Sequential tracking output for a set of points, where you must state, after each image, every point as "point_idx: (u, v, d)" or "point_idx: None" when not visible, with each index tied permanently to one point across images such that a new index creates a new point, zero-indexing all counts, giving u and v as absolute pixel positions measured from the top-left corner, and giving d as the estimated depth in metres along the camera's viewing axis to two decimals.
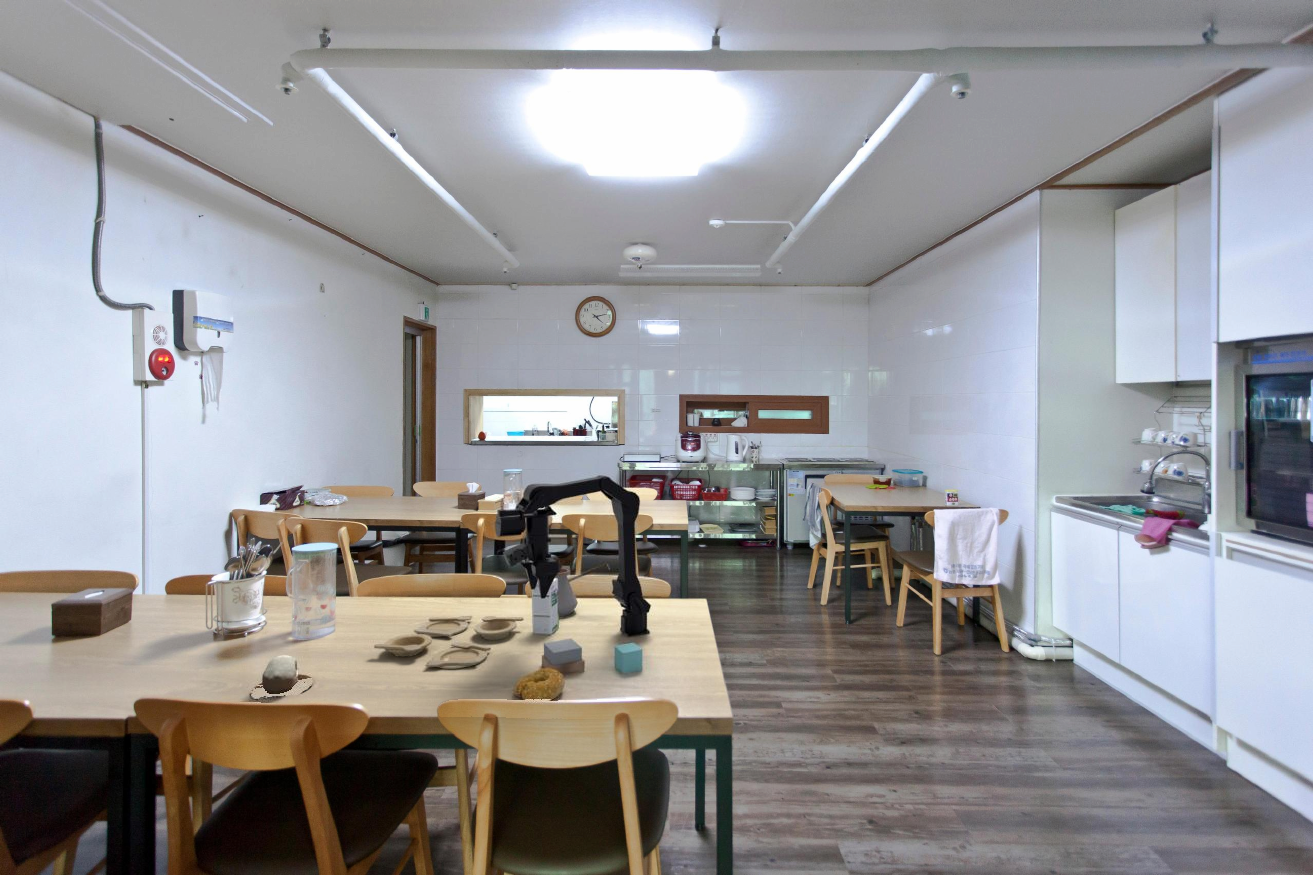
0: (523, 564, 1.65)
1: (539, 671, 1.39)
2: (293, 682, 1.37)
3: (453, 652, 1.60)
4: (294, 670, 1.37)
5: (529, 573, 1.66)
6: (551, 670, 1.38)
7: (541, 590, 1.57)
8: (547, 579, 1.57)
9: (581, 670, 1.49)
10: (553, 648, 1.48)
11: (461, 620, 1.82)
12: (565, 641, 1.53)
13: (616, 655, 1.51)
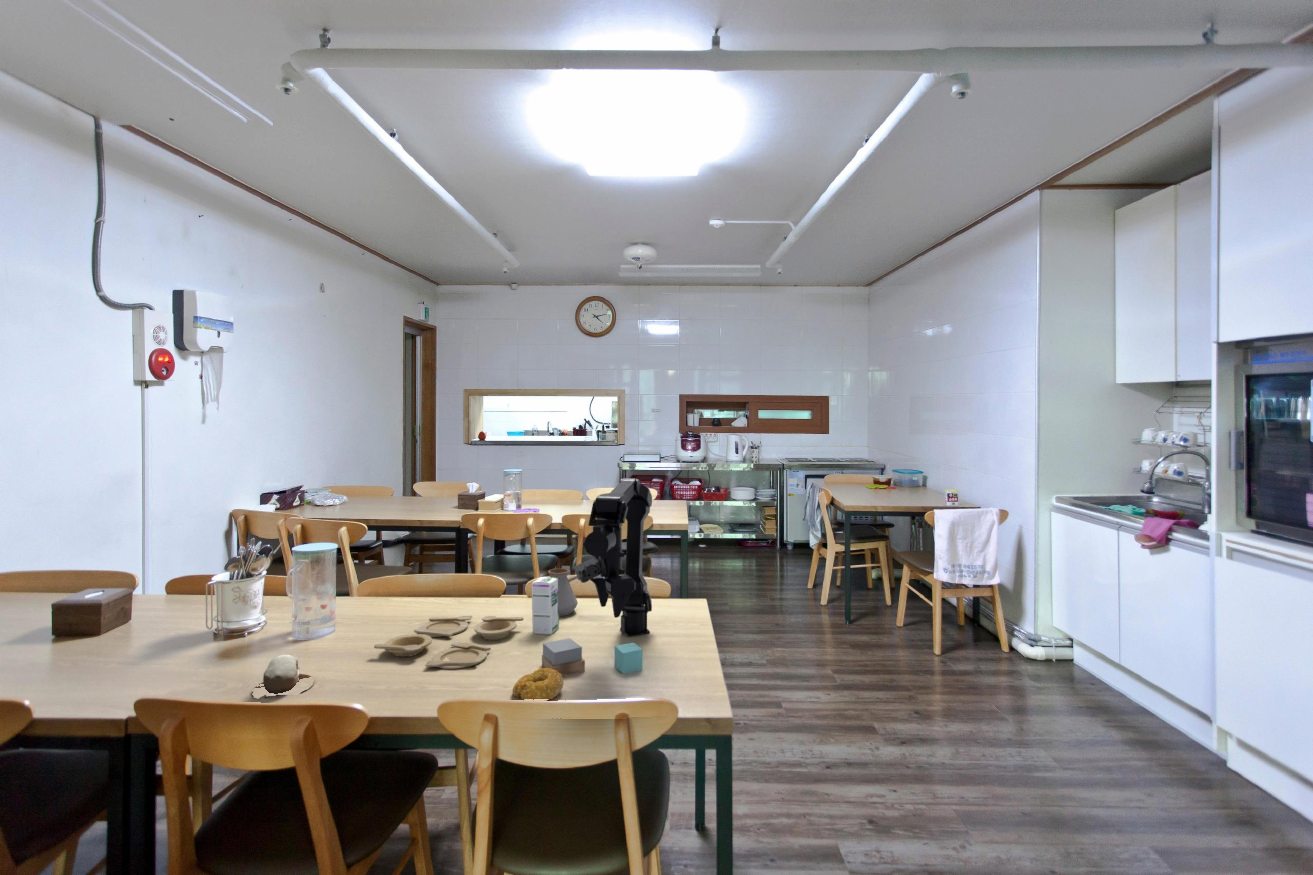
0: (593, 580, 1.56)
1: (538, 671, 1.39)
2: (294, 681, 1.37)
3: (453, 652, 1.60)
4: (295, 669, 1.38)
5: (599, 589, 1.56)
6: (550, 670, 1.39)
7: (615, 608, 1.47)
8: (621, 597, 1.47)
9: (581, 670, 1.49)
10: (553, 648, 1.48)
11: (461, 620, 1.82)
12: (564, 641, 1.53)
13: (616, 655, 1.51)
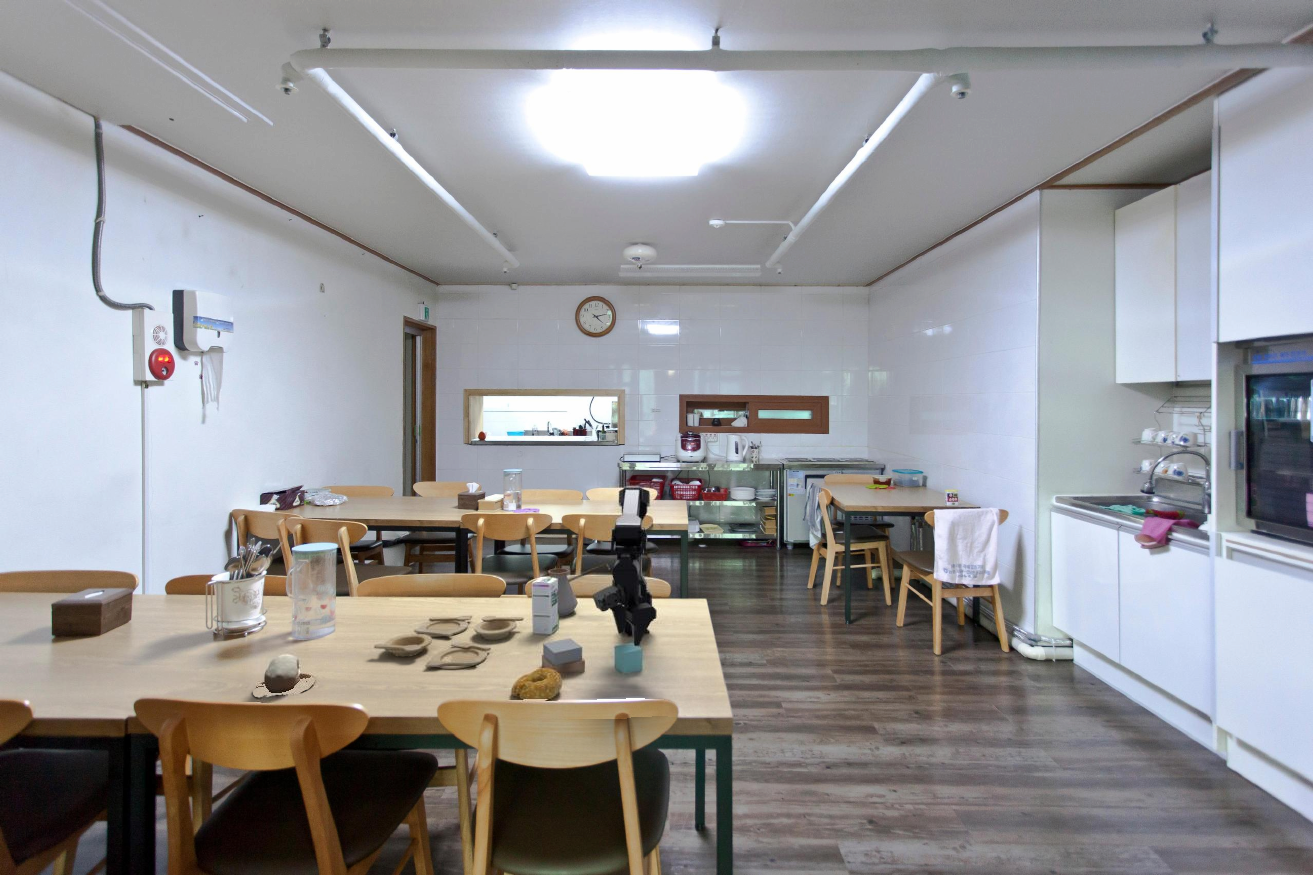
0: None
1: (537, 671, 1.39)
2: (295, 681, 1.38)
3: (453, 652, 1.60)
4: (296, 669, 1.38)
5: (617, 616, 1.54)
6: (549, 670, 1.39)
7: (635, 637, 1.45)
8: (641, 625, 1.46)
9: (581, 670, 1.49)
10: (553, 648, 1.48)
11: (461, 620, 1.82)
12: (564, 641, 1.53)
13: (616, 655, 1.51)
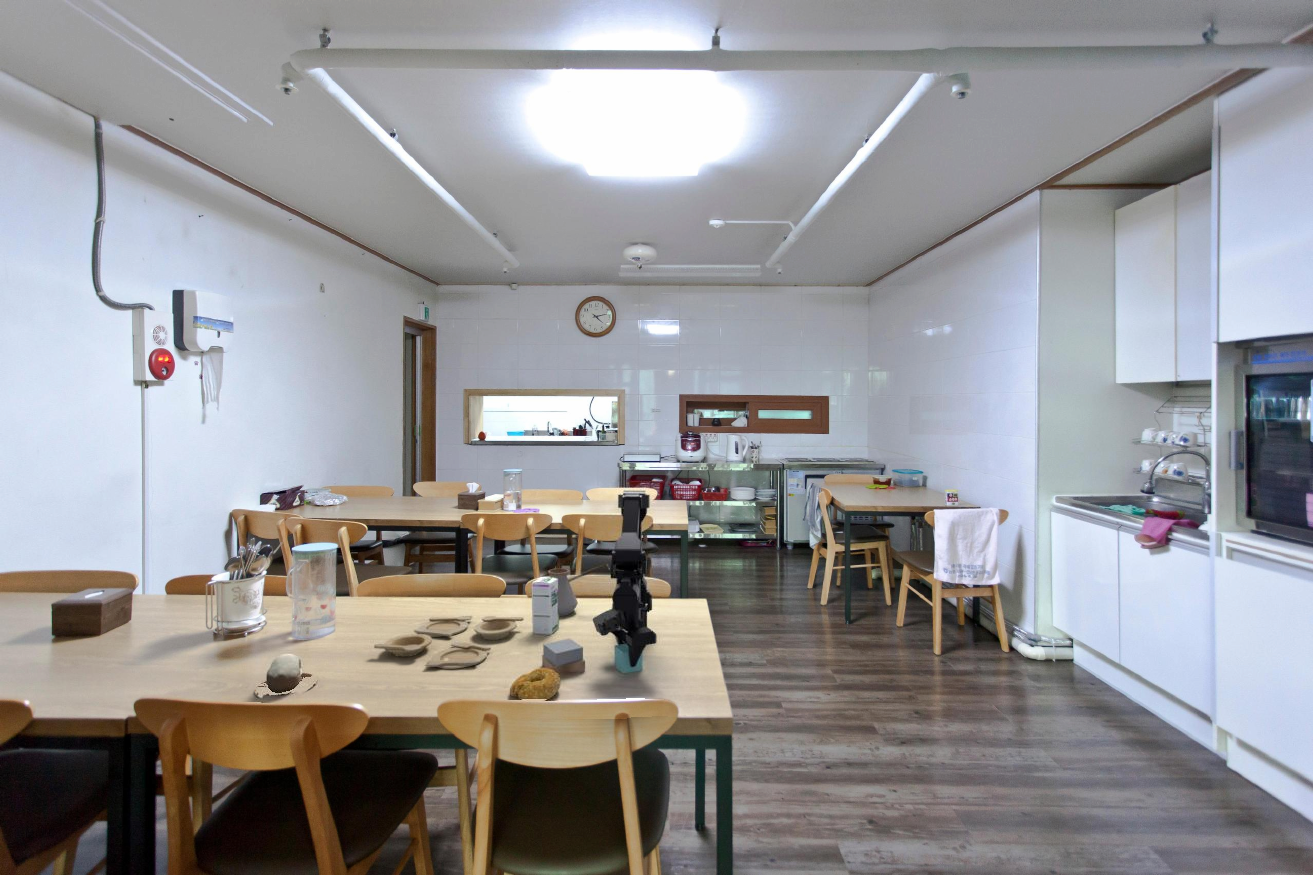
0: (613, 632, 1.52)
1: (535, 671, 1.39)
2: (297, 680, 1.38)
3: (453, 652, 1.60)
4: (298, 668, 1.38)
5: (620, 641, 1.53)
6: (547, 670, 1.39)
7: (632, 658, 1.47)
8: (638, 647, 1.47)
9: (581, 670, 1.49)
10: (554, 649, 1.48)
11: (461, 620, 1.82)
12: (564, 641, 1.53)
13: (616, 654, 1.51)
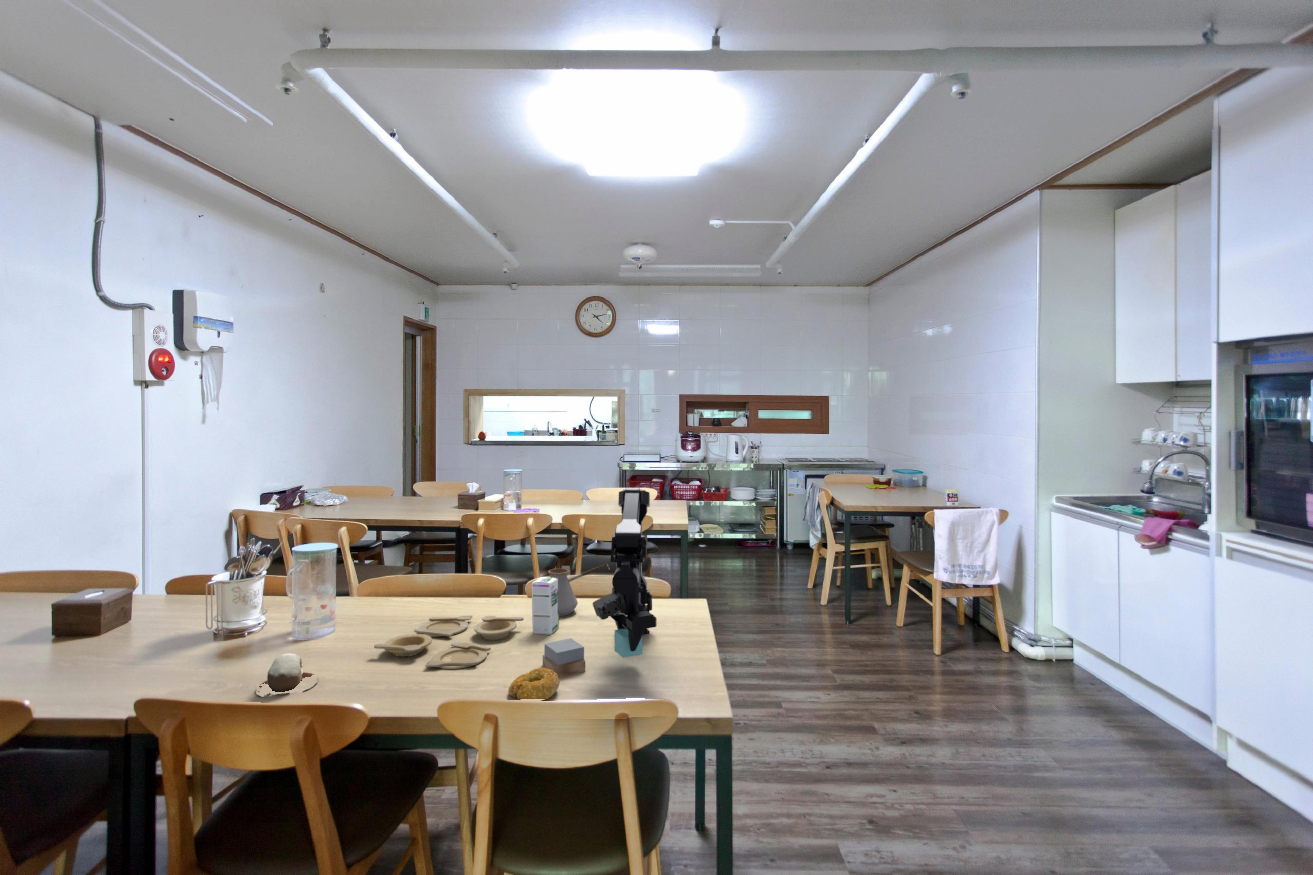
0: (613, 616, 1.52)
1: (534, 671, 1.39)
2: (298, 680, 1.38)
3: (453, 652, 1.60)
4: (299, 668, 1.39)
5: (620, 626, 1.52)
6: (546, 670, 1.39)
7: (631, 642, 1.47)
8: (638, 631, 1.47)
9: (582, 670, 1.49)
10: (556, 648, 1.48)
11: (461, 620, 1.82)
12: (565, 641, 1.53)
13: (616, 639, 1.50)
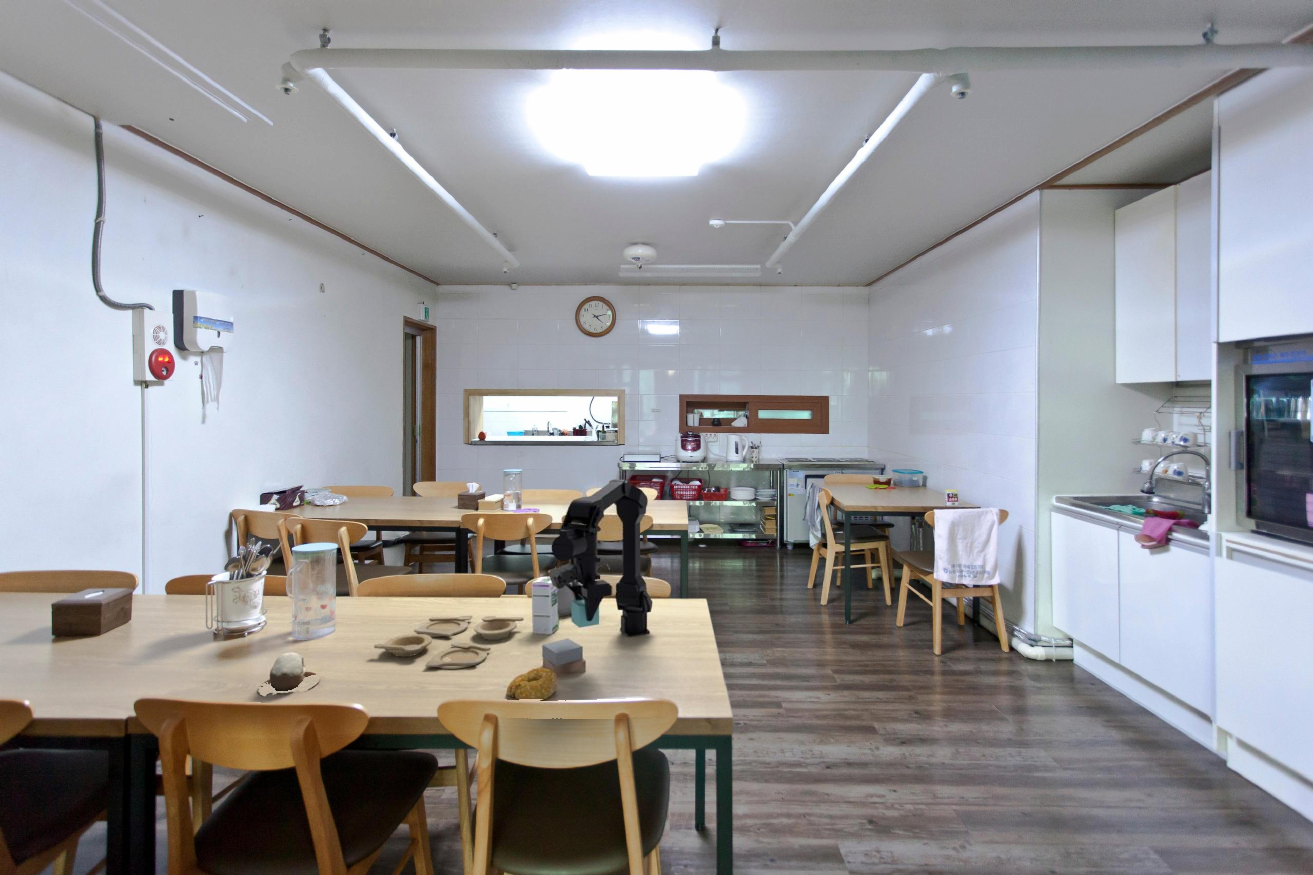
0: (571, 587, 1.52)
1: (532, 671, 1.39)
2: (300, 679, 1.39)
3: (453, 652, 1.60)
4: (301, 667, 1.39)
5: (577, 597, 1.52)
6: (544, 670, 1.39)
7: (588, 612, 1.47)
8: (594, 600, 1.47)
9: (582, 670, 1.49)
10: (554, 649, 1.48)
11: (461, 620, 1.82)
12: (563, 641, 1.53)
13: (573, 609, 1.50)
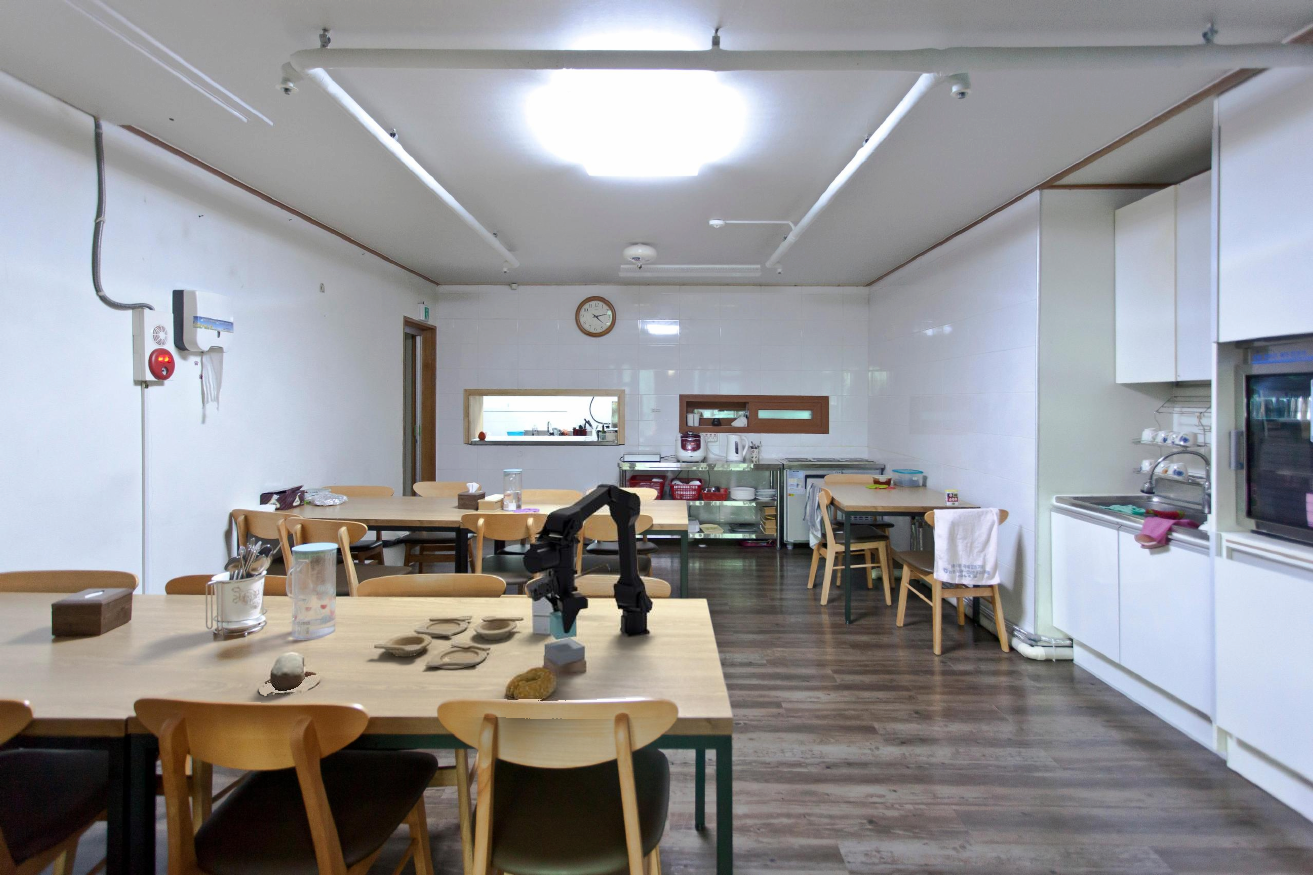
0: (549, 599, 1.52)
1: (531, 670, 1.39)
2: (301, 679, 1.39)
3: (453, 652, 1.60)
4: (302, 667, 1.39)
5: (555, 609, 1.52)
6: (543, 669, 1.39)
7: (565, 624, 1.47)
8: (571, 613, 1.47)
9: (583, 670, 1.49)
10: (557, 649, 1.48)
11: (461, 620, 1.82)
12: (565, 641, 1.53)
13: (551, 621, 1.50)
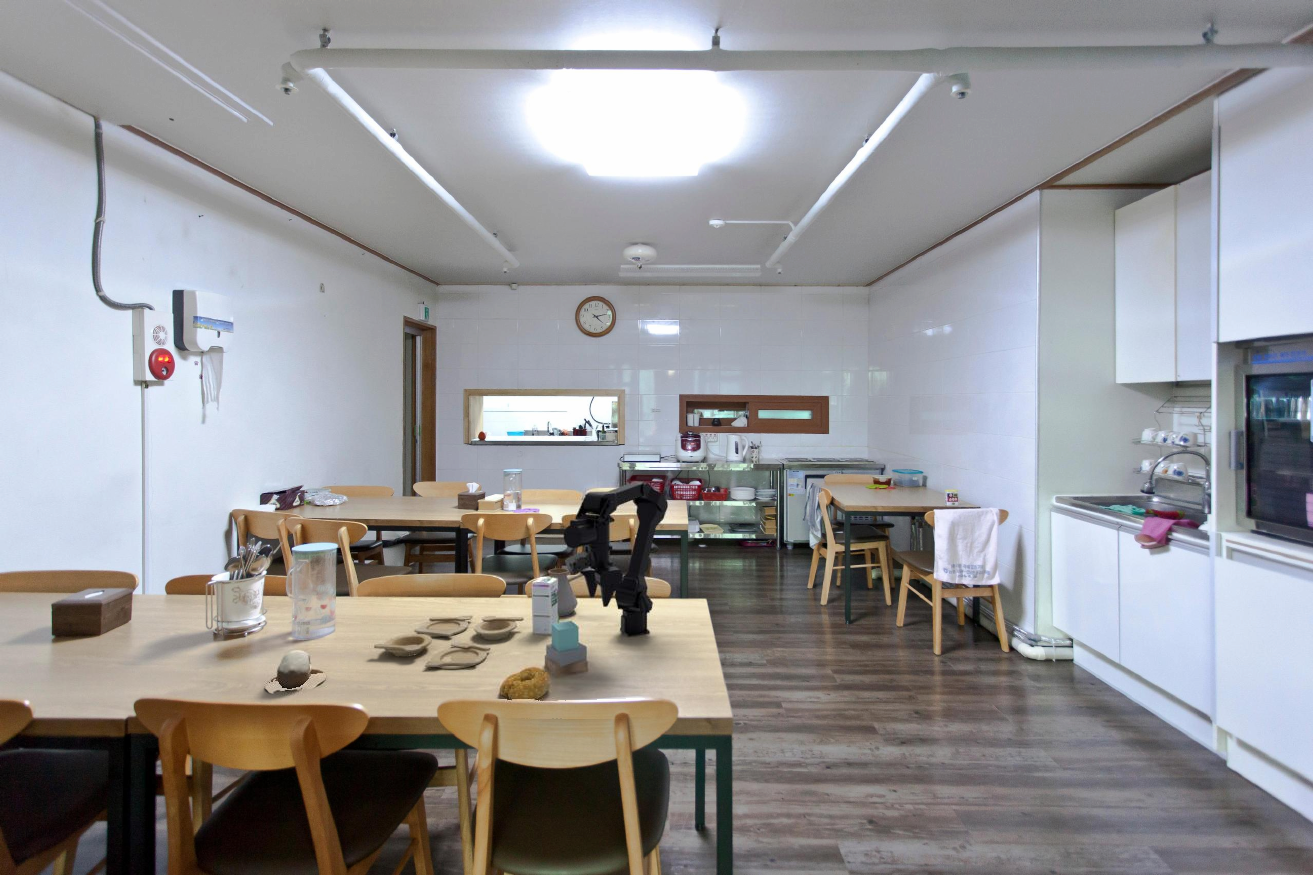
0: (582, 572, 1.65)
1: (525, 670, 1.40)
2: (307, 676, 1.40)
3: (453, 652, 1.60)
4: (308, 664, 1.41)
5: (588, 581, 1.66)
6: (537, 669, 1.39)
7: (604, 598, 1.57)
8: (610, 587, 1.57)
9: (584, 670, 1.49)
10: None
11: (461, 620, 1.82)
12: None
13: (553, 632, 1.50)
